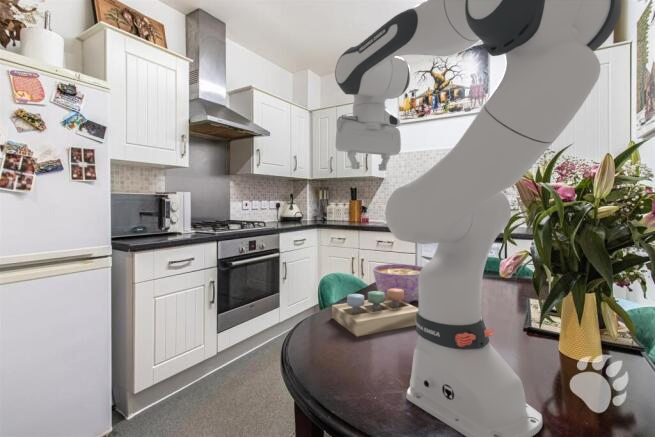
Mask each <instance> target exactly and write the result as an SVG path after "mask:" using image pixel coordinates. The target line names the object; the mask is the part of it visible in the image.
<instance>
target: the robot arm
mask: <svg viewBox="0 0 655 437" xmlns="http://www.w3.org/2000/svg"><path fill="white" fill-rule="evenodd" d="M621 12H622V3H621V0H425V1H423V2H421V3H419V4H417V5H415V6H413V7H411V8H408V9H406V10H404V11H402V12H400V13H398V14H397V15H395V16H393V17H392V18H390V19H389V20H388V21H387V22H386V23H384V24H383V25H382V26H380V27H379V28H378V29H376V30H375V31H374V32H373V33H371V34H370V35H369V36H368V37H366V39H364V40H363V41H362V42H360V43H359V44H358V45H356V46H352V47H350V48H348V49H346V50H345V51H344V52H343V53H342V54H341V55H340V56H339V58H338V60H337V62H336V66H335V69H334V70H335V71H334V77H335V80H336V83H337V85H338V87H339V88H340V90H341V91H342V92H343V93H344V94H345V95H352V96H353V105H352V115H346V114H342V115H340V116H338V118H337V120H336V134H335V148H336V150H337V151H338V152H345V153H347V157H348V160H349V161H350V164H351V170H360V161H357V158H356V156H357V154H365V155H366V154H368V155H379V156H380V158H381V159H382V160H381V163H379V164H378V171H381V172H383V171H387V168H388V167H387V164H388V163H389V161H390V159H391V156H396V155H399V154H400V152H401V148H402V144H401V143H402V142H401V140H402V139H401V132H400V129H399V128H398V127H400V125H401V120H400V119H399V118H398V117H397V116H395V115H393V113H390V112H389V111H388V110H386V103H385V102H386V100H390V99H397V98H399V97H400V96H402V95H403V94H404V93H405V92H406V91H407V89H408V88H409V86H410V80H411V69H410V65H409V62H408V61H407V60H406V59H405V58H402V57H401V56H407V55H408V56H409V55H413V56H414V55H421V56H434V57H449V56H453V55H456V54H459V53H461V52H464V51H466V50H468V49H470V48H472V47H473V46H475V45H476V44H478V43H480V42H482V44H483V46H484V48H485V50H486V52H487V53H488V54H489V55H490V56H491V57H497V56H502V55H504V58H505V59H504V60H505V67H504V68H505V69H504V72H503V74H502V76H501V79H500V80H499V82H498V84H497V86H496V87H495V88H494V90H493V91H492V93H491V94H490V95H489V97H488V98H487V100H486V101H485V102H484V104H483V106H482V107H481V109H480V110H479V112H478V113H477V114H476V116H475V118H473V121H472V122H471V123H470V125H469V126H468V128H467V129H466V131H465V132H464V133H463V134H462V136H461V138H460V139H459V141H458V142H456V144H455V145H454V147H452V149H451V150H450V151H449V152H448V153H447V154H446V155H445V156H443V158H441V159H440V160H439V161H438V162H436V164H434V165H433V166H431V168H429V169H428V170H427V171H426V172H425V173H423V174H422V175H420V176H419V177H418V178H416V179H414V180H412V181H411V182H408V183H406V184H404V185H403V186H399V187H398V188H396V189H395V190H393V192H391V194H390V196H389V198H388V200H387V202H386V206H385V211H384V212H385V216H384V217H385V221H386V225H387V227H388V229H389V231H390V232H391V234H392V236H394V237H395V238H396V239H397V240H400V241H402V242H406V243H414V244H420V245H431V244H437V247H436V250H435V252H434V254H433V256H432V258H431V259H430V260H429V261H428V262H427V263H425V264H424V265H423V266H422V267H423V268H422V269H421V271H420V273H419V278H418V299H417V300H418V306H417V308H418V311H417V313H416V321H415V322H416V325H415V331H416V333H417V339H416V343H415V346H414V350H413V357H412V365H411V375H410V380H409V387H408V389H407V390H406V395H405V396H406V399H407V401H409V402H411V403H412V404H414V405H415V406H417V407H419V408H420V409H422V410H424V411H425V412H427V413H428V414H430V415H431V416H433V417H435V418H437V419H438V420H440V421H441V422H442V423H444V424H446V425H447V426H449V427H451V428H452V429H454V430H455V431H457V432H459V433H460V434H461V435H463V436H465V437H533V436H535V435H536V434H538V433H539V432H540V430H541V429H542V427H543V415H542V413H541V412H539V411H537V410H536V409H535V408H534V407H532V406H531V405H530V404H528V403H527V402H526V395H525V389H524V386H523V382H522V380H521V378H520V377H519V376H518V375H517V374H516V373H515V371H514V370H513V368H512V367H511V366H510V365H509V364H508V363H507V362H506V360H505V359H503V357H502V356H501V355H500V354H499V353H498V351H497V350H496V349H495V348H494V347H493V346H492V344H491V343H490V337H492V336H494V335H495V333H493V332H494V331H495V329H494V328H490V329H487V328H486V327H487V326H486V324H485V322H484V318H483V317H482V287H483V286H482V285H483V276H484V272H485V267H486V264H487V260H488V258H489V255H490V252H491V249H492V247H493V245H494V243H495V240H496V239H497V238H498V236H499V235H500V233H502V231H504V230H505V229H506V227H507V226H508V224H509V223H510V220H511V219H510V218H511V215H512V213H511V212H512V209H511V204H510V201H509V199H508V197H507V196H506V195H505V194H504V192H503V191H504V190H507V189H509V188H511V187H513V186H514V185H515V184H517V183H519V181H521V180H522V178H523V177H524V176H525V175H526V174H527V172H528V171H529V170H530V169H531V168H532V167H533V166H534V165H535V164H536V162H537V161H538V160H539V159H540V158H541V157H542V156H543V155H544V154H545V153H546V151H547V150H548V149H549V147H551V145H552V144H553V143H554V142H555V141H556V140H557V139H558V137H559V136H560V135H561V134H562V132H563V131H564V130H565V129H566V128H567V126H568V125H569V124H570V122H571V121H572V120H573V119H574V118H575V116H576V115H577V113H578V112H579V110H580V109H581V107H582V106H583V104H584V103H585V101H586V100H587V99H588V97H589V95H590V94H591V91H592V90H593V88H594V87H595V85H596V83H597V82H598V80H599V78H600V75H601V63H600V59H599V58H598V56H597V55H596V52H595V51H596V50H598V49H599V48H600V47H601V46H602V45H603V44H604V43H605V42H606V41H607V40H608V39H609V38H610V37H611V35H612V33H613V32H614V30H615V28H616V27H617V25H618V23H619V20H620V17H621ZM399 56H400V57H399Z"/></svg>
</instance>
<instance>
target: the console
mask: <svg viewBox="0 0 655 437" xmlns="http://www.w3.org/2000/svg"><path fill="white" fill-rule="evenodd" d="M331 311H332V312H331V313H332V315H331V316H332V319H334V321H335V322H337V323H338V324H340V325H341V326H342V327H344V328H345V329H346V330H348V331H349V332H350V333H351V334H353V335H354V336H355V337H361V336H362V337H363V336H367V335H371V334H377V333H382V332H388V331H392V330H398V329H403V328H407V327H408V328H409V327H413V326H416V322H415V321H416V313H417V311H418V306H415V305H412V304H411V303H405V302H403V301H401V300H399V308H394V309H393V308H392V300H389V299H388V298H387V297H385V302H384V303H380V311H376V312H373V303H370V302H368V299H366V300H365V299H364V305H363V306H361V307H359V314H358V315H352V306H348V305H347V302H345V303H339V304H337V303H336V304H331Z"/></svg>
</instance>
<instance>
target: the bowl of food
mask: <svg viewBox="0 0 655 437" xmlns="http://www.w3.org/2000/svg"><path fill="white" fill-rule="evenodd" d="M423 267H424V266H420V265H416V264H404V263H400V264H399V263H395V264H394V263H393V264H392V263H391V264H382V265H376V266H374V267H373V268H372V273H373V277H374V281H375V283H376V284H375V285H376V289H377V291H380V292H384V293H385V297H387V290H388V289H393V288H396V289H402V290H404V299H403V300H401V301H403V302H405V303H408V304H411V303H412V302H413V301H416V300H418V278H419V273H420V271H421V269H422V268H423Z"/></svg>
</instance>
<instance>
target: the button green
mask: <svg viewBox="0 0 655 437" xmlns="http://www.w3.org/2000/svg"><path fill="white" fill-rule="evenodd" d="M367 300H368V302H370V303H373V312H376V311H380V303H384V302H385V293H384V292H380V291H378V290H372V291H368V292H367Z"/></svg>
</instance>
